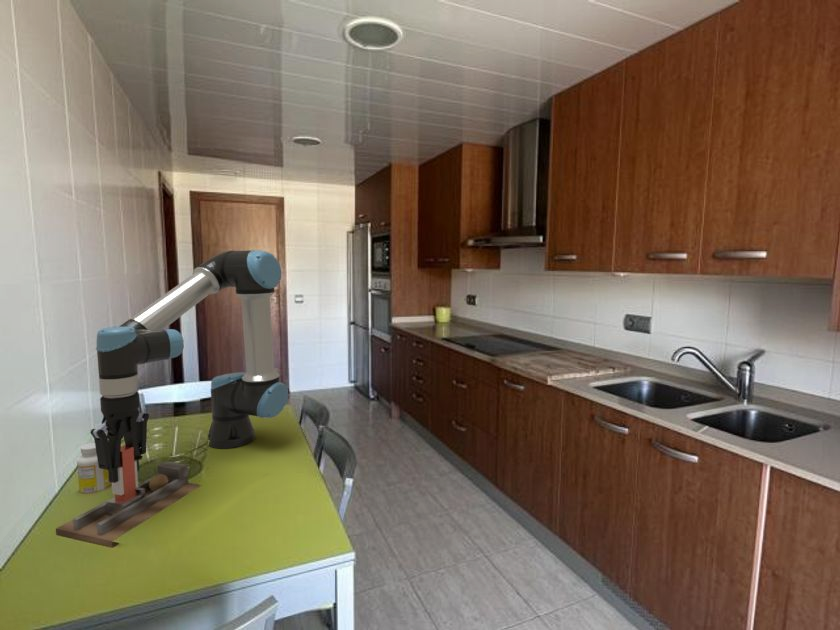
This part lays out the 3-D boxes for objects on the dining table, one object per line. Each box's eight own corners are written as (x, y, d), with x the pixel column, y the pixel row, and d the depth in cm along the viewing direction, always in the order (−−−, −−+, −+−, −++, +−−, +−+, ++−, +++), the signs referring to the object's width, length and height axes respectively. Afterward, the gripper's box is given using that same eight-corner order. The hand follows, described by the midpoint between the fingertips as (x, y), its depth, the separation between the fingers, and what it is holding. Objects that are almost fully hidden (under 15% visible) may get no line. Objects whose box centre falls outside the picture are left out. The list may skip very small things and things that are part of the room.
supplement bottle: (104, 484, 124) (101, 438, 122) (114, 491, 120) (111, 444, 118) (75, 493, 118) (71, 446, 117) (85, 501, 114) (81, 452, 113)
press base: (154, 482, 125) (152, 459, 124) (202, 490, 121) (201, 467, 120) (56, 535, 100) (54, 507, 99) (112, 547, 96) (110, 518, 95)
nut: (159, 486, 120) (158, 470, 119) (172, 488, 118) (172, 472, 118) (145, 494, 115) (144, 477, 115) (159, 496, 114) (158, 480, 114)
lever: (129, 501, 111) (125, 442, 110) (145, 504, 110) (142, 444, 108) (106, 513, 106) (102, 452, 104) (123, 517, 104) (119, 454, 103)
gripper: (137, 384, 114) (141, 473, 116) (72, 401, 98) (79, 504, 101) (161, 386, 112) (165, 477, 114) (99, 405, 96) (105, 509, 99)
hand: (125, 489), depth 107 cm, fingers closed on lever, 3 cm apart
